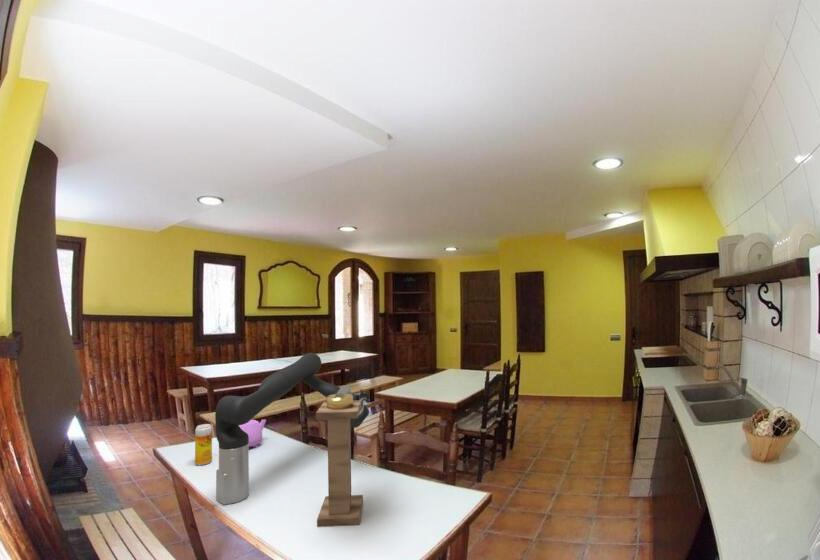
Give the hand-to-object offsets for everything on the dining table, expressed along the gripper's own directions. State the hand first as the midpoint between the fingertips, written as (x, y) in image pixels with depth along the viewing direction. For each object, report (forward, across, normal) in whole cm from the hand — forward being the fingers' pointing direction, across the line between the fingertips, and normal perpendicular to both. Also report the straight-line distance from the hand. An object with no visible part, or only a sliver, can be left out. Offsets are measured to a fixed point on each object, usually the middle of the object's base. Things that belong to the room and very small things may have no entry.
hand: (349, 392), depth 152 cm
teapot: (-46, -52, +9) cm, 70 cm away
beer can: (-30, -62, +18) cm, 72 cm away
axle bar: (+18, 0, +9) cm, 20 cm away
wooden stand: (+9, 0, +40) cm, 41 cm away
